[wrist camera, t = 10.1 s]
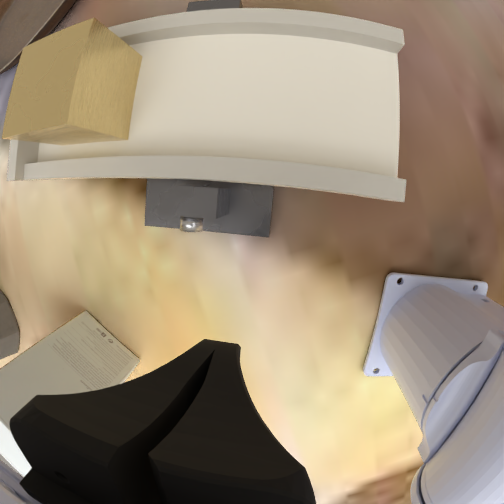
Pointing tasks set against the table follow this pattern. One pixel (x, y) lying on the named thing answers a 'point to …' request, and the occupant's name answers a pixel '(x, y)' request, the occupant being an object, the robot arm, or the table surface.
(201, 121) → the beam
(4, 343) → the coffeepot
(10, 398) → the small box
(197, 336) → the table surface
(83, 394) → the robot arm
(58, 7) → the plant saucer
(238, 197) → the pivot stand
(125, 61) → the brass block
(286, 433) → the table surface
